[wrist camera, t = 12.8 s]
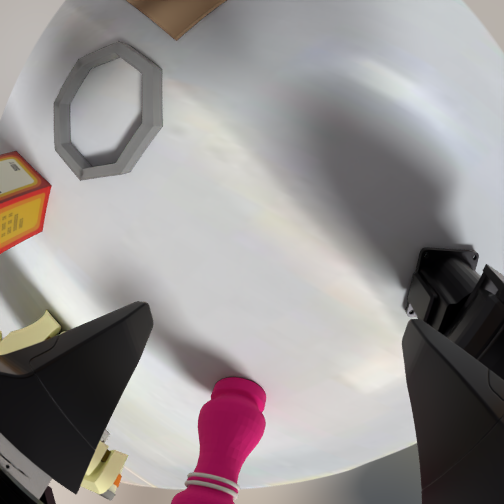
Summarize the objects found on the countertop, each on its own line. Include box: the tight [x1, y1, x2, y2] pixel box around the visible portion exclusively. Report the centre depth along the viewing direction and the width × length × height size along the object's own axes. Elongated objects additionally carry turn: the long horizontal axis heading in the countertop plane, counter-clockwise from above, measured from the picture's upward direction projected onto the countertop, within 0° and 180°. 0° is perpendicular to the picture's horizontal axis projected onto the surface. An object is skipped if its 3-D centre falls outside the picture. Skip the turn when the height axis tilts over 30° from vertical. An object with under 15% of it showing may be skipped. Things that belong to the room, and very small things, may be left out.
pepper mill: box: [171, 377, 266, 504], centre depth 20 cm, size 7×7×20 cm
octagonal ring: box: [54, 42, 163, 181], centre depth 19 cm, size 12×12×2 cm
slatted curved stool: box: [0, 310, 128, 494], centre depth 26 cm, size 30×16×18 cm, turn 45°
